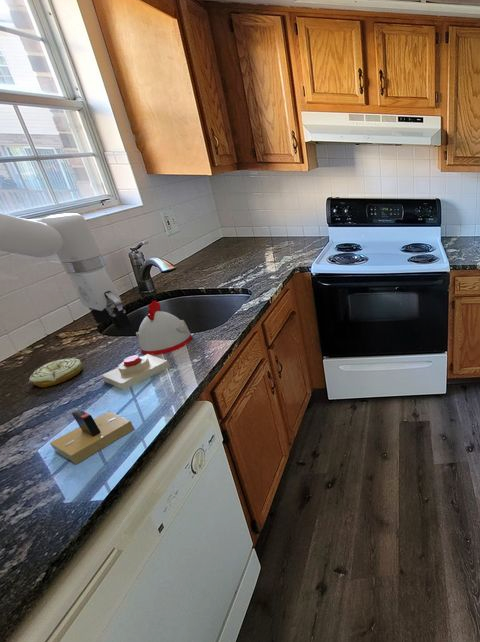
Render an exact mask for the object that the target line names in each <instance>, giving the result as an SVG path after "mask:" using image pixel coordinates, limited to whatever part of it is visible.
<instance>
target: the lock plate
mask: <svg viewBox="0 0 480 642" xmlns="http://www.w3.org/2000/svg"><path fill="white" fill-rule="evenodd" d="M93 420H94V421H95V423H96V425H97V426H98V428H99V430H100V432H101V433H99V434H97V435H96V436H94V437H93V436H91V435H90V434H88V433H86V432H84V431H82V430H81V428H80V426H78V427H76V428H74V429H73V430H71V431H69V432H67V433H65V434H64V435H62V436H60V437H58V438H56V439H54V440H52V441H50V442H49V444H50V446H51V447H52V449H53V450H54V452H55V453H57V454H59V455H61V456H62V457H64V458H65V459H67V460H69V461H70V462H72V463H74V464H75V465H77V464H79V463H81V462H83V461H84V460H86V459H87V458H89V457H91V456H93V455H94V454H96V453H98V452H99V451H101V450H102V449H105V448H106V447H107V446H109V445H111V444H113V443H114V442H115V441H117V440H119V439H121V438H122V437H125V436H126V435H128V434H129V433H131V432H132V431H134V430H135V427H134V425H133V423H132V421H131V420H129V419H127V418H125V417H123V416H121V415H119V414H116V413H115V412H113V411H110V410H108V411H106V412H104V413H103V414H101V415H99V416H96V417H95V418H93Z"/></svg>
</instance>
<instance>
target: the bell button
mask: <svg viewBox="0 0 480 642" xmlns="http://www.w3.org/2000/svg"><path fill="white" fill-rule="evenodd" d="M122 362H124V364H125V366H126V367H130V366H134V365H136V364H139V363H140V362H141V360H140V355H138V354H134V355H130V356H127V357H125V358H124V359H123V360H122Z"/></svg>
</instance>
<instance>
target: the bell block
mask: <svg viewBox="0 0 480 642" xmlns="http://www.w3.org/2000/svg"><path fill="white" fill-rule="evenodd" d="M139 357H140V360H141V362H140V363H139V364H136V365H134V366H130V367H126V366H125V364H124V362H123V361H122V362H121V363H120V364H118V367H116V368H114V369H112V370H110V371H108V372H105V373H103V374H101V378H102V379H103V382H104V383H107V384H109V385H112V386H114V387H116V388H118V389H121V390H124V391H126V390H127V389H130V388H131V387H133V386H135V385H137V384H140V383H141V382H143V381H145V380H147V379H149V378H151V377H153V376H155V375H156V374H159V373H160V372H163V371H164V370H167V369H168V368H170V367H171V365H170V363H169V360H166V359H164V358H161V357H158V356H156V355H150V354H146V355H145V354H143V355H142V356H140V355H139Z"/></svg>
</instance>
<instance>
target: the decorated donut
mask: <svg viewBox="0 0 480 642" xmlns="http://www.w3.org/2000/svg"><path fill="white" fill-rule="evenodd" d="M82 369H83V363H82V361H81V359H80V358H79V359H78V358H73V357H72V358H63V359H58V360H57V359H56V360H54V361H51V362H48V363H46V364H43V365H42V366H40V367H38V368H37V369H36V370H34V371H33V373H32V374H31V375H30V377H29V379H28V381H29V382H30V383H32V384H33V385H34V386H36V387H39V388H48V387H52V386H56V385H58V384H61V383H64V382H66V381H68V380H71V379H73V378H74V377H75V376H77V375H78V374H80V373H81V371H82Z"/></svg>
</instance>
